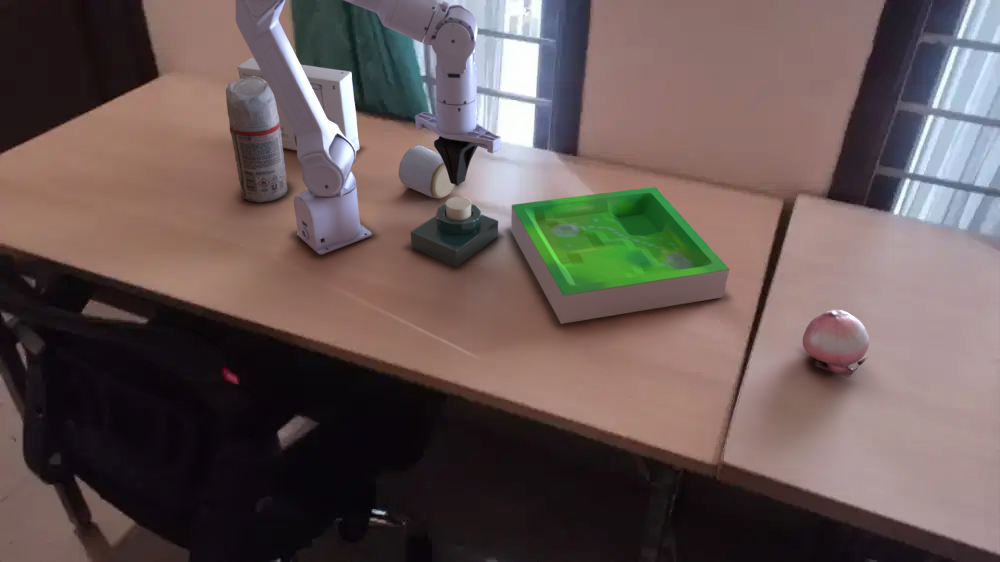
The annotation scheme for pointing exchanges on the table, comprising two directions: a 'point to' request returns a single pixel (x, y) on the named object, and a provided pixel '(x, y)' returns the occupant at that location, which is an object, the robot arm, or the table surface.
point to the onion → (836, 341)
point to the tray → (615, 254)
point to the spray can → (256, 139)
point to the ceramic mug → (425, 172)
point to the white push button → (458, 208)
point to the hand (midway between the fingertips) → (457, 181)
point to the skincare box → (330, 92)
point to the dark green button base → (454, 236)
